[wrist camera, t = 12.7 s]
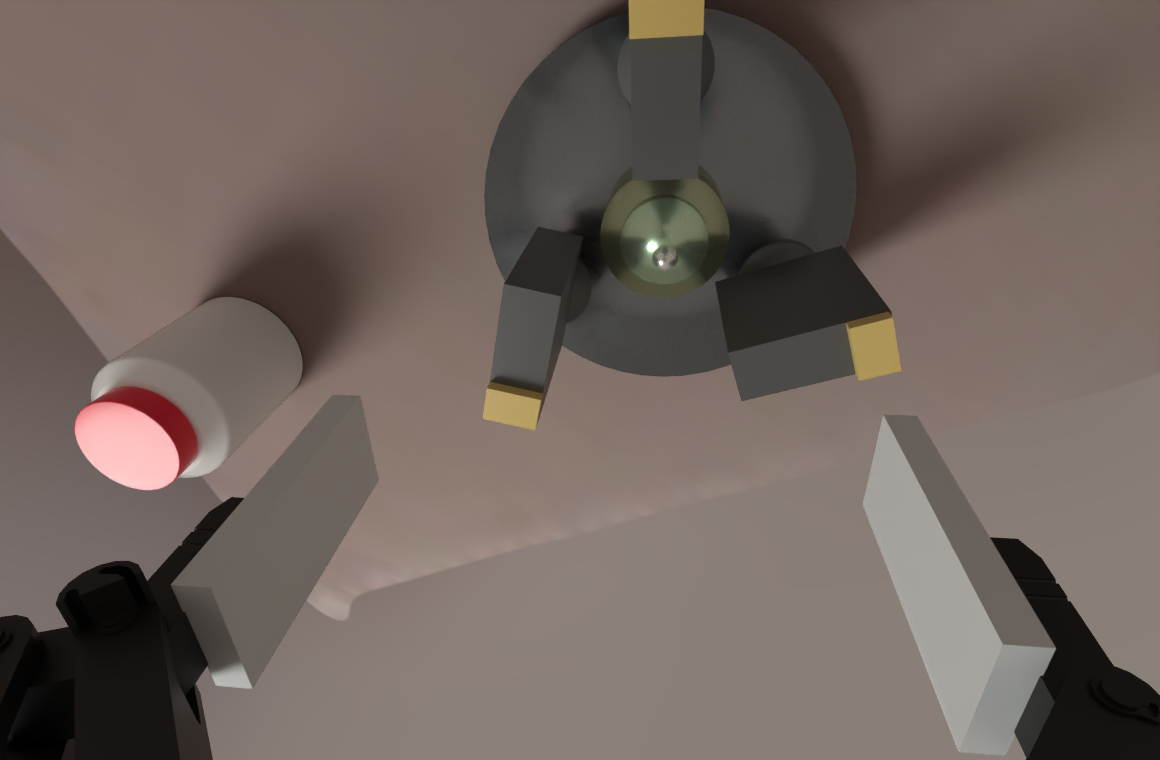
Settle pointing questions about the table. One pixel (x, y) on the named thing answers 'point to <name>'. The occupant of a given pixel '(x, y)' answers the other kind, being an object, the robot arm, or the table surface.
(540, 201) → the plate
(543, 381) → the knob
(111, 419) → the pill bottle
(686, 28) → the knob
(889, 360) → the leg
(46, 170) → the table surface
